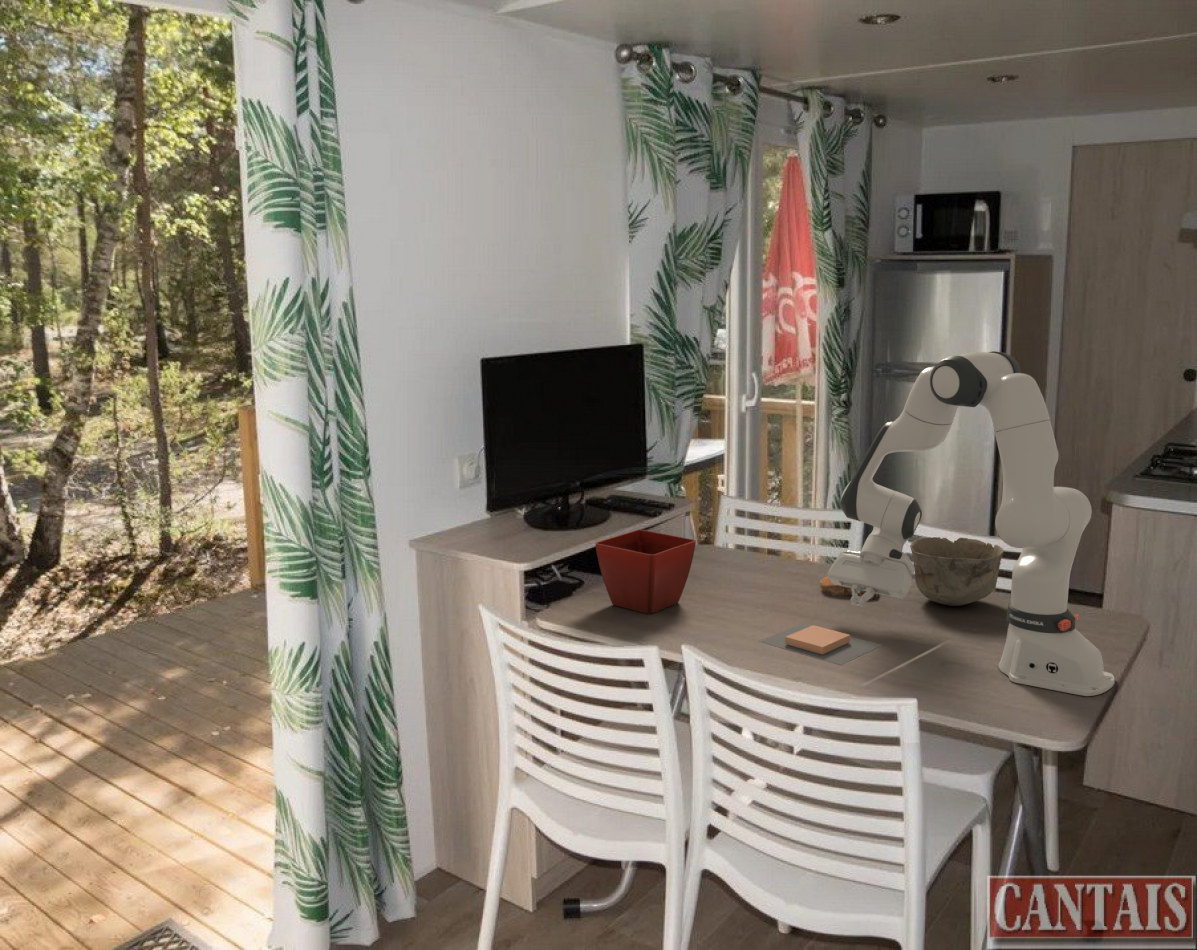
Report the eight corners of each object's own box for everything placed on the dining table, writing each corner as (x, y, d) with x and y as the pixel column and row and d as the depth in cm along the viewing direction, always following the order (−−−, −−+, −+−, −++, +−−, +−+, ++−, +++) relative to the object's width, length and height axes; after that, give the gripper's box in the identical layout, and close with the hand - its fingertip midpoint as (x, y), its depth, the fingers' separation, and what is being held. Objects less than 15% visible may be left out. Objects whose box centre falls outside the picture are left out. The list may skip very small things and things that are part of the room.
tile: (850, 634, 244) (822, 647, 237) (849, 643, 245) (822, 655, 237) (813, 625, 251) (785, 636, 244) (812, 633, 252) (785, 645, 244)
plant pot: (697, 602, 278) (697, 539, 275) (653, 621, 264) (652, 554, 261) (639, 589, 290) (639, 528, 287) (594, 606, 276) (593, 543, 273)
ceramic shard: (821, 563, 295) (877, 573, 292) (817, 585, 295) (873, 596, 293) (822, 570, 280) (881, 581, 278) (818, 594, 281) (876, 605, 278)
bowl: (1016, 605, 271) (1020, 548, 268) (962, 622, 259) (965, 562, 256) (944, 585, 289) (947, 531, 286) (890, 600, 277) (892, 544, 274)
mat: (882, 647, 243) (882, 645, 243) (840, 667, 232) (840, 664, 231) (801, 625, 259) (801, 623, 259) (758, 643, 247) (758, 641, 247)
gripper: (837, 542, 264) (813, 589, 259) (912, 555, 249) (889, 605, 244) (846, 556, 267) (824, 602, 262) (921, 570, 253) (899, 620, 248)
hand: (856, 604), depth 253 cm, fingers closed
